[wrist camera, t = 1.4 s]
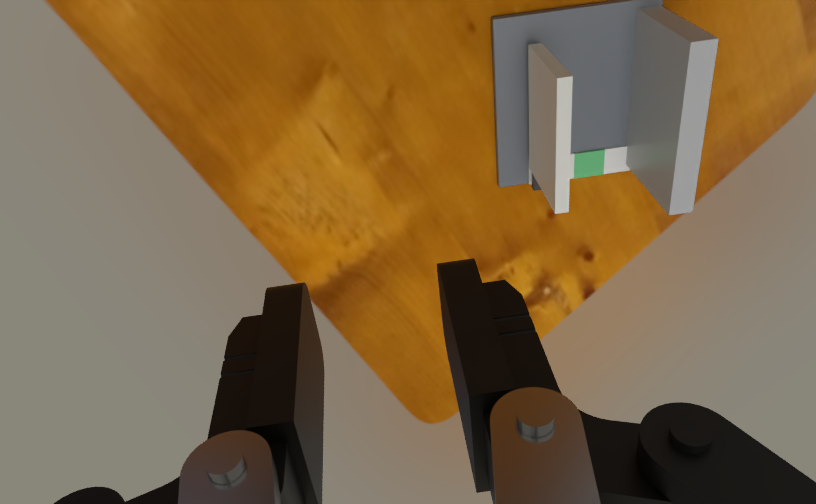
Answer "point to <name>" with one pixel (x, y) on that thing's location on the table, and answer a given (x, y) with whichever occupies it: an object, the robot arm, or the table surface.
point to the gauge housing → (611, 93)
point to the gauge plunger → (549, 126)
